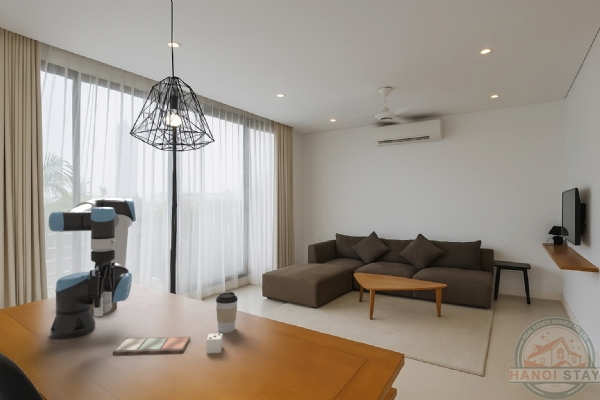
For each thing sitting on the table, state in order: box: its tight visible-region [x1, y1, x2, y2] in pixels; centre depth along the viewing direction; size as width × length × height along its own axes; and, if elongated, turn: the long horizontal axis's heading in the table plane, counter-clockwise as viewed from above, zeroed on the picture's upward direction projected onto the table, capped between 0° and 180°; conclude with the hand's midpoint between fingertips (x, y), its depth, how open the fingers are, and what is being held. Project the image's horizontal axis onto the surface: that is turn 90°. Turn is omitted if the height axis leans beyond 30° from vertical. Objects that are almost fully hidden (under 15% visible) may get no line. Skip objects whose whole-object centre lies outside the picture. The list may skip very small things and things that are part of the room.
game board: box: [112, 336, 191, 356], centre depth 122 cm, size 24×11×1 cm, turn 96°
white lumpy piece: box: [93, 292, 112, 313], centre depth 120 cm, size 5×7×8 cm
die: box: [206, 332, 224, 354], centre depth 120 cm, size 5×5×5 cm
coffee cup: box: [215, 291, 238, 334], centre depth 138 cm, size 9×9×15 cm
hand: (102, 312), depth 120 cm, fingers closed on white lumpy piece, 6 cm apart
